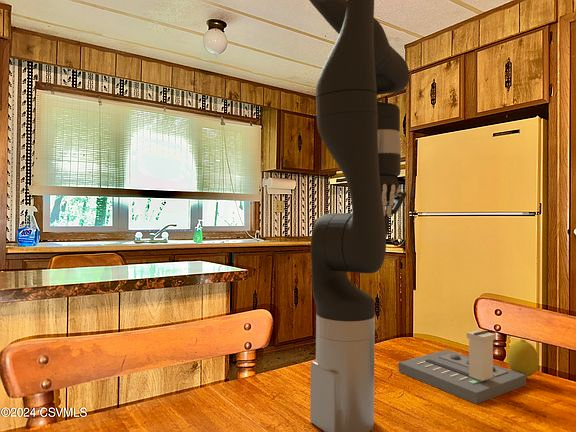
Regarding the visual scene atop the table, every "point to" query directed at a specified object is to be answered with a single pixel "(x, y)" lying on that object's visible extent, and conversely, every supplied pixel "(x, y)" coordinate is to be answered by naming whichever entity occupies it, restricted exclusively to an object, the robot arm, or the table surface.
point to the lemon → (523, 358)
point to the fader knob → (481, 354)
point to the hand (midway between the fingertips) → (381, 234)
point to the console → (460, 376)
